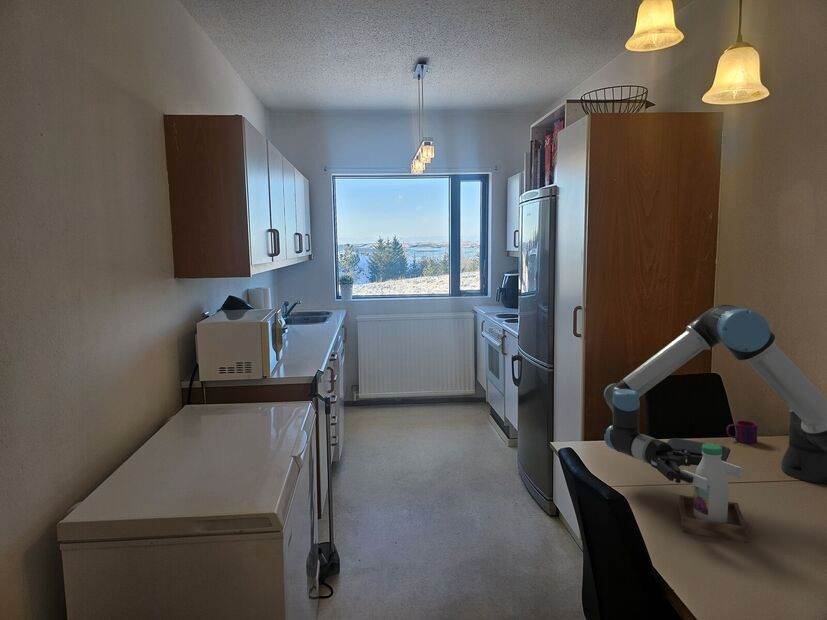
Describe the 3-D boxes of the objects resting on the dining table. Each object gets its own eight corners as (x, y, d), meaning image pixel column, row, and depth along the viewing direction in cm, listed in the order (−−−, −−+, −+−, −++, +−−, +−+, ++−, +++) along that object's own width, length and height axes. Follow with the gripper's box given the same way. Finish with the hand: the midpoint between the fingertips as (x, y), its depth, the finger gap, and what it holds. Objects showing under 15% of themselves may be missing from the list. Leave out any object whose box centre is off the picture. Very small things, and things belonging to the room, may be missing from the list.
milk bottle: (723, 514, 137) (725, 442, 135) (730, 529, 130) (733, 452, 128) (691, 510, 140) (692, 439, 138) (696, 524, 133) (698, 450, 130)
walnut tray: (737, 515, 138) (737, 502, 138) (746, 542, 126) (747, 528, 125) (678, 506, 144) (679, 494, 144) (682, 531, 131) (682, 518, 131)
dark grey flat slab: (731, 445, 183) (725, 459, 171) (731, 450, 183) (724, 465, 172) (670, 435, 196) (660, 447, 184) (669, 439, 196) (660, 452, 184)
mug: (759, 445, 186) (760, 426, 185) (728, 443, 189) (729, 425, 188) (752, 438, 193) (753, 420, 192) (722, 437, 195) (723, 419, 194)
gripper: (681, 455, 155) (753, 481, 136) (621, 473, 145) (691, 504, 126) (681, 431, 155) (754, 454, 136) (621, 447, 144) (691, 475, 125)
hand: (724, 478), depth 131 cm, fingers open, 13 cm apart
